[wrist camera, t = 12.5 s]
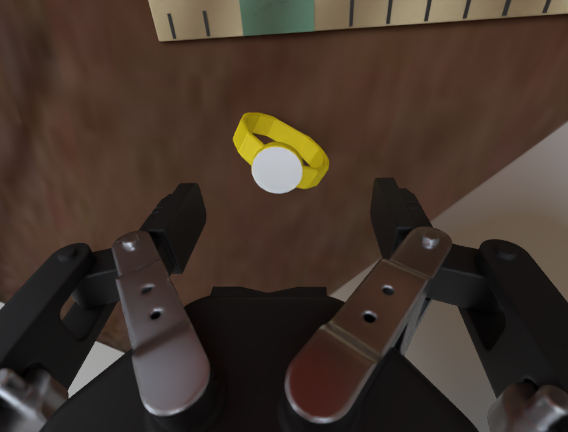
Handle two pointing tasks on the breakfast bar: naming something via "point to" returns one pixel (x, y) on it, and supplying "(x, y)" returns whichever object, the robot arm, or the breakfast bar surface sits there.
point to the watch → (279, 154)
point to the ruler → (325, 15)
